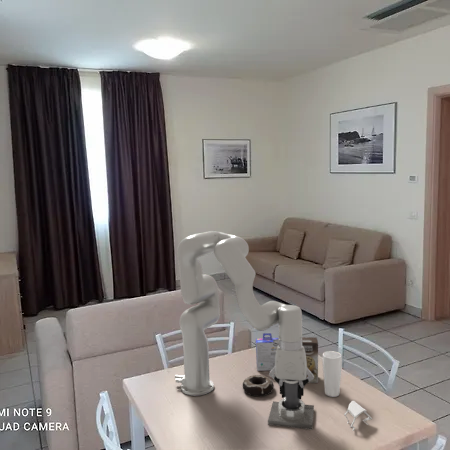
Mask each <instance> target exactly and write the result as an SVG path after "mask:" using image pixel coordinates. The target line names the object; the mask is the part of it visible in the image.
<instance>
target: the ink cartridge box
mask: <svg viewBox="0 0 450 450" xmlns="http://www.w3.org/2000/svg"><path fill="white" fill-rule="evenodd" d="M278 338H279V337H273V336H272V333H271V332H270V333H266V332H264V333H262V338H255V355H256V357H255V359H256V362H255V363H256V371H257V372H258V371H261V372H263V371H264V372H265V371H267V372H269V371H271V370H272V369H273V368H274V366H275V358H276V350H277V347H278V346H279V345H278V344H277V343H275V339H278Z"/></svg>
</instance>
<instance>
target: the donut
mask: <svg viewBox="0 0 450 450" xmlns="http://www.w3.org/2000/svg"><path fill="white" fill-rule="evenodd" d="M274 387H275V385H274V381H273V379H271V378H270V377H268V376H266V375H261V374H254V375H253V374H252V375H250V376H247V377H246V378H245V379H244V380H243V382H242V390H243V391H244V392H245V393H246V394H247V395H250V396H254V397H263V396H267V395H269V394H271V393H272V391H274Z"/></svg>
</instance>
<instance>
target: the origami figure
mask: <svg viewBox="0 0 450 450" xmlns="http://www.w3.org/2000/svg"><path fill="white" fill-rule="evenodd" d="M348 412H349V414H350V415H351V416H352V417H353V420H352V423H351V425H350V428H352V431H353V432H354V431H355V429H356V427H355V426H354V424H355V421H356V418H357V417H359V416H360V415H361V414H362V413H364V414H365V415H366V416H367V417H366V418H364V419H362V422H363V423H364V424H366V425H367V426H369V423H367V421H371V420H372V419H373V417H371V415H370V414H369V413H368V412H367V409H365V408H363V407H362V406H361V405H360V404H359V403H357V402H356V401H355V400H354V399H353V400H351V402H349V404H348V408H347V409H346V411H345V412H344V414H343V415H344V416H345V418H346V419H347V422H346V423H347V424H349V422H350V420H349V418H348V417H347V414H348Z"/></svg>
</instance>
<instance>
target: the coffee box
mask: <svg viewBox="0 0 450 450" xmlns="http://www.w3.org/2000/svg"><path fill="white" fill-rule="evenodd" d="M302 346H303V347H304V349H305V353H306V361H307V368H308V369H309V370H310V371H311V373H312V374H313V375H314V379H313V380H311V381H309V382H308V384H309V383H312V384H313V383H315V384H318V383H319V342H318V337H314V336H313V337H310V336H309V337H307V336H302ZM307 377H308V375H307ZM307 377H306V378H307Z"/></svg>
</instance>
